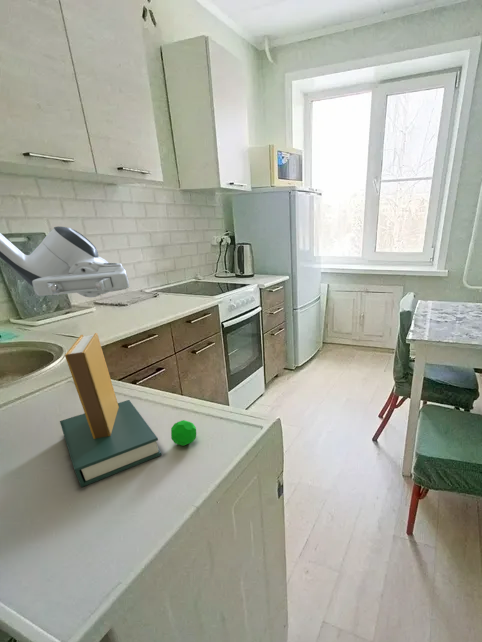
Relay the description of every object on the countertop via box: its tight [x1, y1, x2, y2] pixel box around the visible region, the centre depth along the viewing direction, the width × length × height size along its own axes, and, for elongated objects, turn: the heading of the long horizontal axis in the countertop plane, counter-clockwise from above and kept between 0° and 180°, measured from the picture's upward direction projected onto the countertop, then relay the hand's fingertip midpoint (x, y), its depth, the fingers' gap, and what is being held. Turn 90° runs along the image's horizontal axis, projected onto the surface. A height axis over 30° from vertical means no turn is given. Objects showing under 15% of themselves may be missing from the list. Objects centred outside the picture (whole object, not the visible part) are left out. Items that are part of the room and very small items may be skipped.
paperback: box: [64, 332, 119, 439], centre depth 69 cm, size 12×3×17 cm, turn 17°
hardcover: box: [59, 399, 162, 488], centre depth 71 cm, size 20×14×4 cm
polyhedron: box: [170, 419, 197, 447], centre depth 70 cm, size 5×5×5 cm
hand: (76, 288), depth 78 cm, fingers open, 8 cm apart
